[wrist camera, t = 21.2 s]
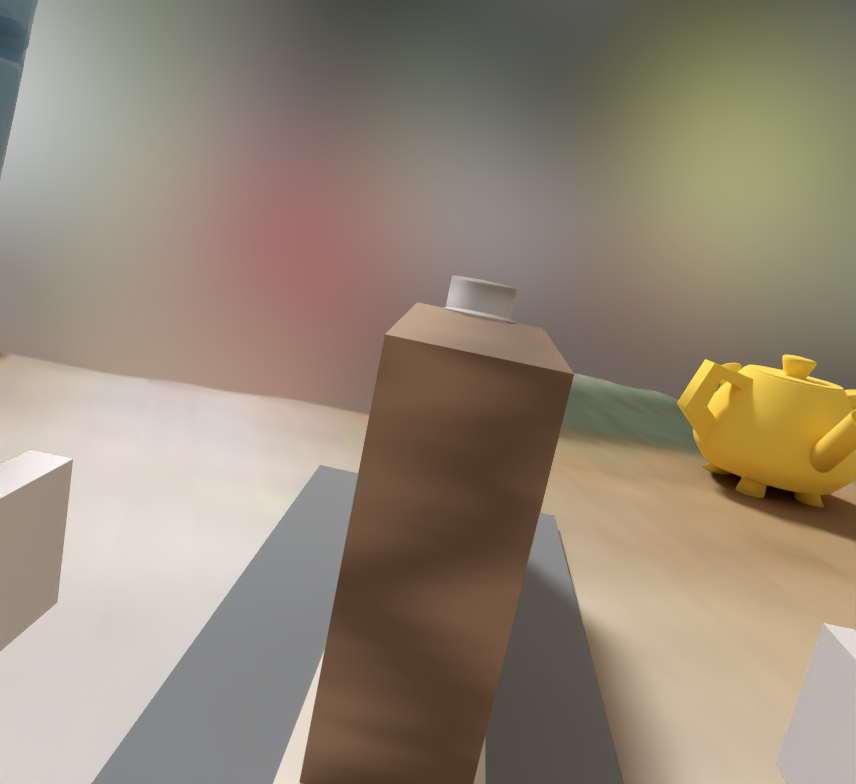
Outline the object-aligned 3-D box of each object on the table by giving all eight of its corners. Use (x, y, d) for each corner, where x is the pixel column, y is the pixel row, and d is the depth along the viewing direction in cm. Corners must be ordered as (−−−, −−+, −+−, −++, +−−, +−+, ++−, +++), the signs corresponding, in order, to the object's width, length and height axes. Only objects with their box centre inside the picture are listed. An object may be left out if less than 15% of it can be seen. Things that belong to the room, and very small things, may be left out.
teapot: (617, 435, 73) (648, 319, 71) (785, 462, 76) (819, 353, 74) (726, 518, 54) (772, 363, 51) (944, 550, 57) (997, 405, 55)
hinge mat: (654, 950, 18) (662, 926, 18) (79, 817, 19) (82, 792, 18) (552, 525, 45) (554, 514, 45) (318, 474, 45) (320, 463, 45)
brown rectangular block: (299, 782, 20) (385, 333, 18) (360, 601, 30) (420, 299, 28) (464, 819, 20) (574, 374, 18) (470, 625, 30) (540, 324, 28)
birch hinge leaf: (448, 602, 32) (518, 291, 29) (386, 589, 32) (451, 277, 29) (457, 503, 44) (508, 276, 41) (412, 493, 44) (459, 266, 41)
